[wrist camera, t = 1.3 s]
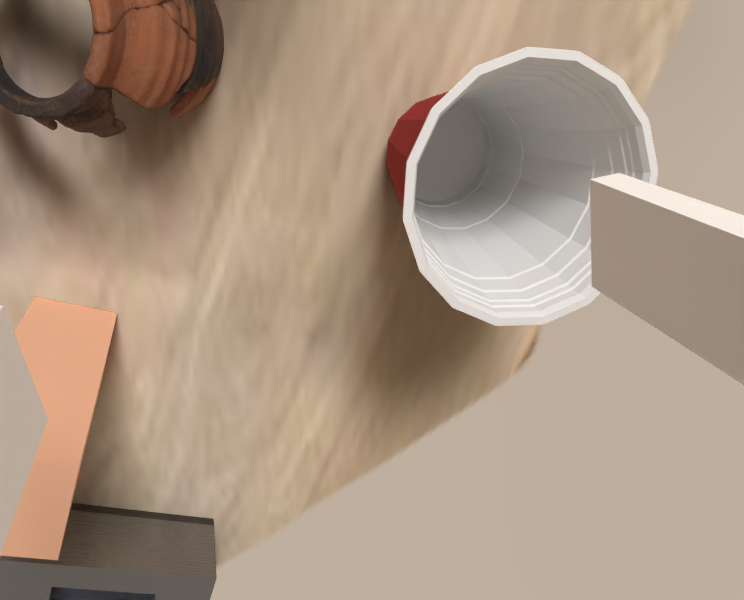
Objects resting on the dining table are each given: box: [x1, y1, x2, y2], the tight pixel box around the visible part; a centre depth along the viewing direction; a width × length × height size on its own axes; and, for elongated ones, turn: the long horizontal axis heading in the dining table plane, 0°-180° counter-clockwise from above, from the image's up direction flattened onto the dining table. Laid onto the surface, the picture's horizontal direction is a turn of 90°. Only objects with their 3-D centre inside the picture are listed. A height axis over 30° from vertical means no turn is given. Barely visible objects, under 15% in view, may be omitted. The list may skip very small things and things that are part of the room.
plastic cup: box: [387, 47, 658, 326], centre depth 32 cm, size 11×11×12 cm
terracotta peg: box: [1, 297, 117, 560], centre depth 30 cm, size 4×4×14 cm
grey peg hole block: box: [0, 504, 216, 600], centre depth 38 cm, size 20×8×5 cm, turn 71°
